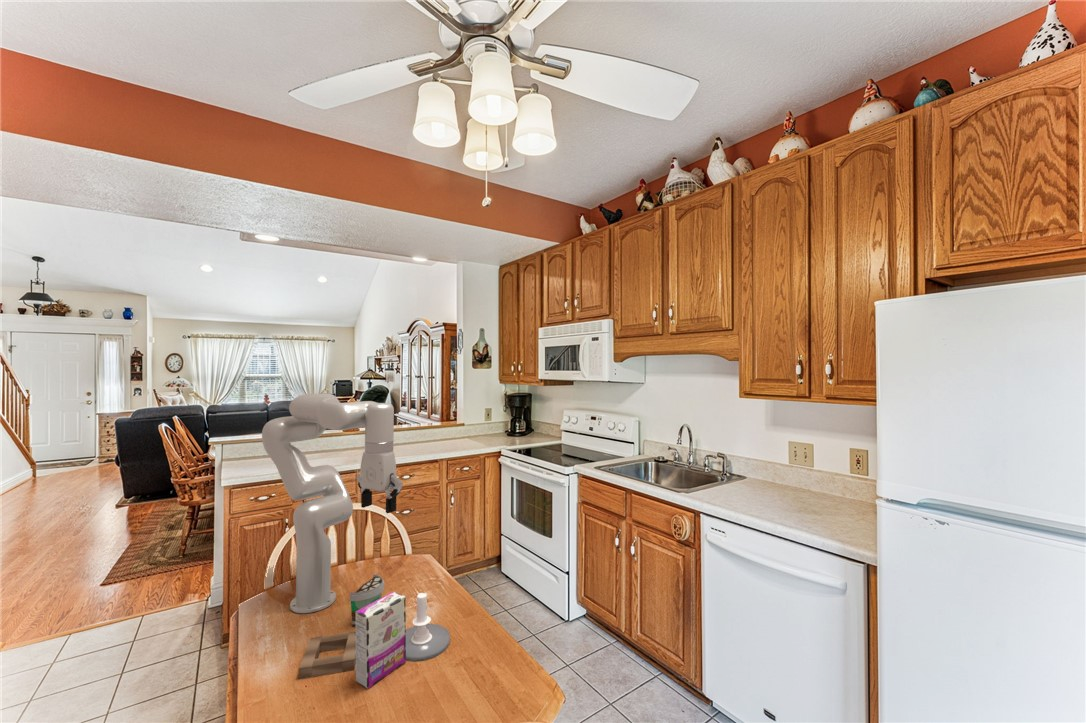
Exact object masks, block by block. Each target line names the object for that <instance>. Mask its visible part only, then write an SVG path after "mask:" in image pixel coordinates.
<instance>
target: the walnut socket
mask: <svg viewBox="0 0 1086 723" xmlns="http://www.w3.org/2000/svg"><path fill="white" fill-rule="evenodd" d="M355 634H356V633H355V631H351V632H350V631H349V632H344V633H343V632H342V633H335V634H329V635H322V636H315V637H311V638H310V639H309V641H308V644H307V647H306V649H305V651H304V653H303V657H302V658H301V663H300V665H299V668H298V680H302V679H307V678H313V677H319V676H320V677H321V676H325V675H331V674H336V673H338V674H339V673H342V672H349V671H355V670H356V652H355V649H356V641H355ZM339 650H344V652H343V654H337V655H332V656H331V655H330V656H324V657H319V656H320V653H326V652H331V651H339Z"/></svg>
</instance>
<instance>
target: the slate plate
mask: <svg viewBox="0 0 1086 723" xmlns="http://www.w3.org/2000/svg"><path fill="white" fill-rule="evenodd" d="M425 626H426V628H427V629H428V630H429V633H430V634H431V635H432V639H431V640H430V641H429V642H428V643H425V644H421V645H417V644H414V643H412V641H411V638H412V637H413V636H414V633H415V631H416V630H417V628H418V626H416V625H413V626H410V627H408V628H406V661H410V662H421V661H426V660H427V661H428V660H431V659H433V658H435V657H438V656H439V655H441V654H443V653H444V651H446V649H447V648H448V647H449V645H450V642H451V640H450V639H451V634H450V632H449V630H448V629H447V628H446V627H445V626H443V625H439V624H435V623H428V624H426V625H425Z"/></svg>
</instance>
